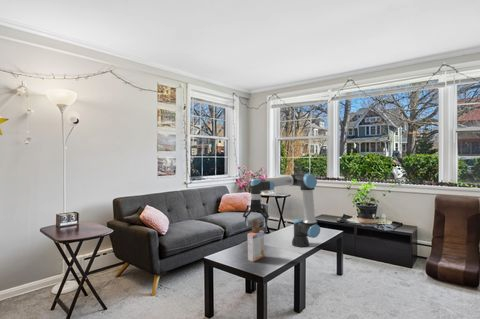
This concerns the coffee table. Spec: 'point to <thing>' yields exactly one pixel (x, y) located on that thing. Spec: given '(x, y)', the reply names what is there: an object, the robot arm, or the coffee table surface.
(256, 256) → the cracker box
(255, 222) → the walnut block
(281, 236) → the coffee table surface
